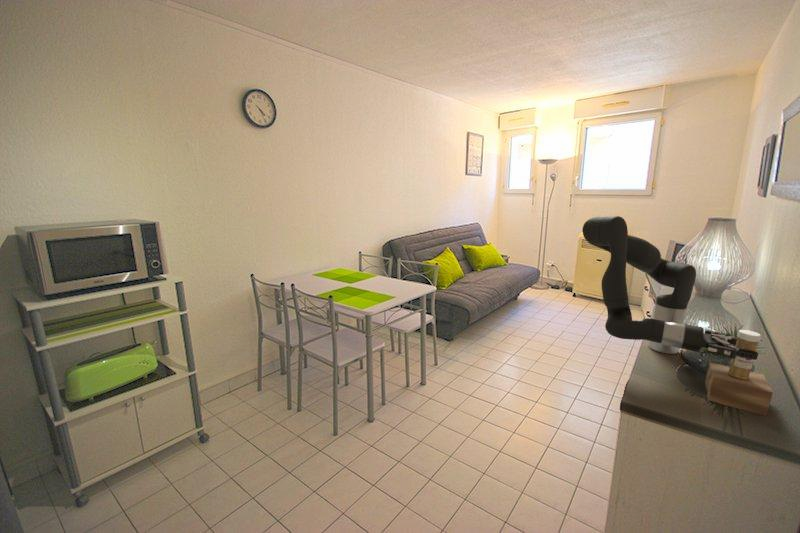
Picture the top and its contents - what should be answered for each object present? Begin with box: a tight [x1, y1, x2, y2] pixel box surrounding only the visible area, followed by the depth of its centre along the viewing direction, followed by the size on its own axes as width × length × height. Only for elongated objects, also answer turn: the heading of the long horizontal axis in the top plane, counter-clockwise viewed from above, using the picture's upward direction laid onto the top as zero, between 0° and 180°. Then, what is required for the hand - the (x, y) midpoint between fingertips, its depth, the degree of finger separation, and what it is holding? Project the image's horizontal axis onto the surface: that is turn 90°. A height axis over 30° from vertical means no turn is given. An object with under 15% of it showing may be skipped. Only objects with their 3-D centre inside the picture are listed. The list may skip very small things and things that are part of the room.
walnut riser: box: [704, 362, 774, 417], centre depth 104 cm, size 12×12×7 cm
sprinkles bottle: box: [728, 329, 762, 380], centre depth 102 cm, size 5×5×14 cm
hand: (754, 350), depth 100 cm, fingers open, 8 cm apart
